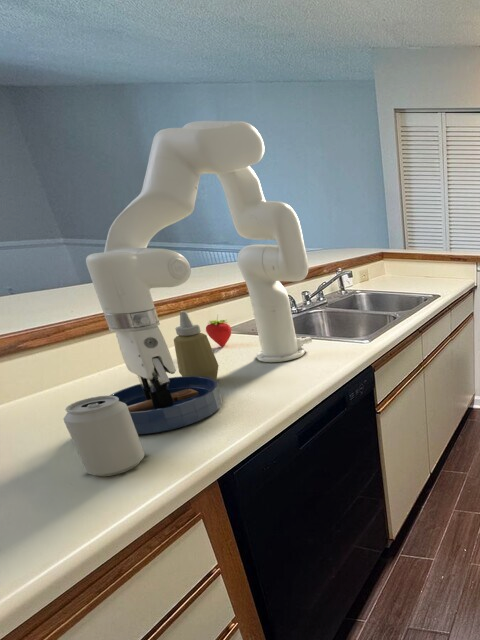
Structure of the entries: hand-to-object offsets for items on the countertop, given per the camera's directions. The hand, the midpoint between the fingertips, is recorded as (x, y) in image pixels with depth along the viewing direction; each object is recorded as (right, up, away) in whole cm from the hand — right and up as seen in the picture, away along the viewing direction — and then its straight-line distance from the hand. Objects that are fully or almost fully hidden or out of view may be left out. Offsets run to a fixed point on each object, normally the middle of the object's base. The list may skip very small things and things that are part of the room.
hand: (161, 405), depth 88 cm
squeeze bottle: (-4, +5, +18) cm, 19 cm away
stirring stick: (0, 0, 0) cm, 0 cm away
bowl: (0, -2, +2) cm, 3 cm away
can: (+6, -10, -16) cm, 20 cm away
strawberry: (-18, +16, +46) cm, 52 cm away
